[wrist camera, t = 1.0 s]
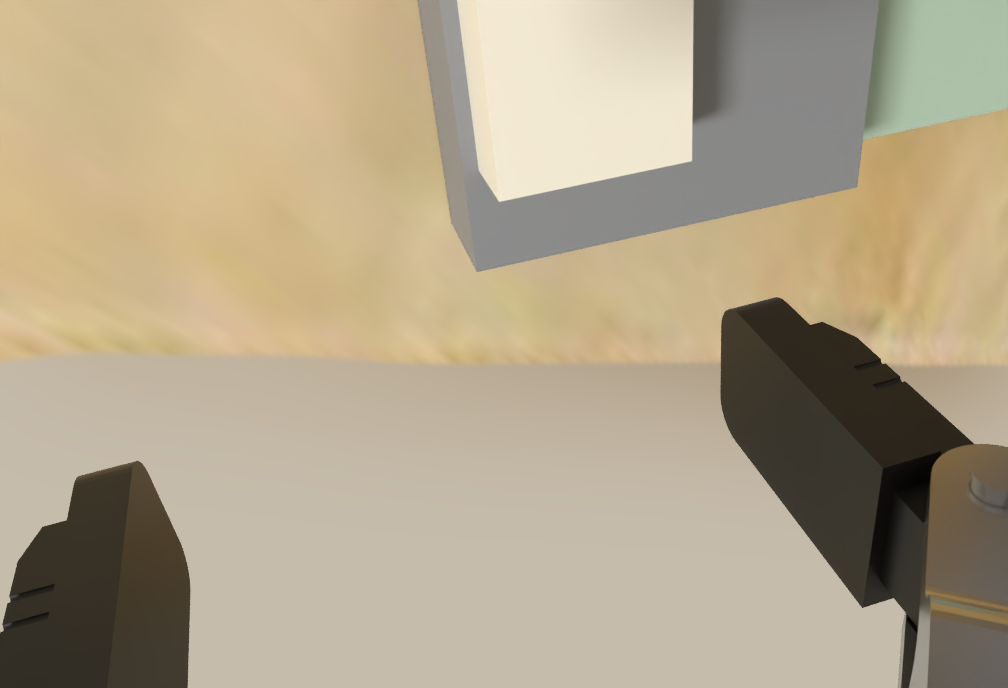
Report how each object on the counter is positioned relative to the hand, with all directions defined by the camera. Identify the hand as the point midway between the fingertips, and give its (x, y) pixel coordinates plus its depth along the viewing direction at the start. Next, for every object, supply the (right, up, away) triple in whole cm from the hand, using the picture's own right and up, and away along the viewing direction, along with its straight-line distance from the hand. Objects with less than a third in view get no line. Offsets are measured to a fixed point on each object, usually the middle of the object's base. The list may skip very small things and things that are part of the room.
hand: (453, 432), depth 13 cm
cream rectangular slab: (+2, +11, +14) cm, 18 cm away
